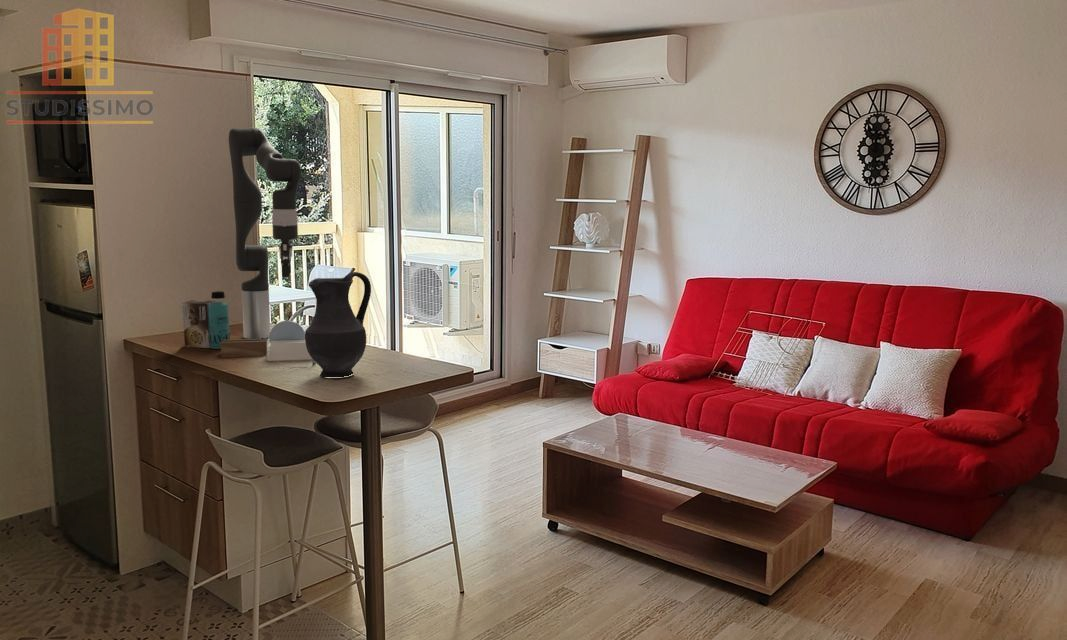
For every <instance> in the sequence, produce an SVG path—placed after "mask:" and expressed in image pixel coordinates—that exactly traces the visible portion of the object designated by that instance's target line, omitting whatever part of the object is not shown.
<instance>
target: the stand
mask: <svg viewBox="0 0 1067 640" xmlns="http://www.w3.org/2000/svg"><path fill="white" fill-rule="evenodd" d="M267 349H268V338H263V339H246V338H243V339H242V338H241V339H229V340H222V342H221V349H220V357H221V358H225V357H229V358H230V357H257V356H258V357H259V356H261V357H263V356H267Z"/></svg>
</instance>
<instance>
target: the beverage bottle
mask: <svg viewBox="0 0 1067 640" xmlns="http://www.w3.org/2000/svg"><path fill="white" fill-rule="evenodd" d="M225 298H226V295H225V292H224V291H222V290H221V291H219V290H217V291H212V292H211V298H210V299H214V300H213V301H214V302H211V303H210V304H209V305H208V307H209V339H210V343H209V344H210V345H209V346H210V348H209V349H217V350H218V349H219V350H221V342H222V340H230V337H231V335H230V319H229V318H230V317H229V304H228V303H227V302H226V301H225V300H223V301H222V300H219V299H225ZM215 299H217V300H215Z"/></svg>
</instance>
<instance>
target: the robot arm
mask: <svg viewBox="0 0 1067 640" xmlns="http://www.w3.org/2000/svg"><path fill="white" fill-rule="evenodd" d="M228 145H229V146H228V148H229V149H228V150H229V155H230V162H231V171H232V187H233V197H232V198H233V208H234V209H233V210H234V219H235V220H234V221H235V261H236V267H237V269H238V270H239V271H240V272H258V274H257V275H256V276H254V277H253V278H250V279H248V280H245V281H243V282H242V283H241V302H242V329H243V339H262V338H263V339H269V336H270V332H271V316H270V315H271V314H270V313H271V311H270V290H269V289H270V287H269V286H270V285H269V250H268V248H267V246H266V245H262V244H258V245H257V244H253V245H252V244H249V245H247V244H246V242H247V238H248V236H249V235H250V232H251V231H252V229H253V227H254V225H255V224H256V223H257V222H258V221H259V218H260V216H261V215H262V213H263V201H262V199H263V197H262V192H261V190H260V188H259V186H258V185H257V183H256V182H255V180H254V179H253V178H252V177H251V175H250V174H249V173H248V171H247V169H246V167H245V165H244V158H243V157H250V156H255V159H256V162H257V163H258V165H259V166H260V167H262V168H263V169H264V172H265V176H266V178H267V180H269V181H272V182H275V183H276V182H278V183H279V182H281V183H283V182H286V185H285V186H284V187H283V188H280V189H275V190H273V192H272V197H271V198H272V216H271V218H272V219H271V220H272V221H271V222H272V238H273V239H274V240H280V241H281V244H279V245H278V251H279V259H280V265H281V273H282V275H281V276H282V277H283V278H290V276H291V272H292V271H291V267H292V265H291V261H292V257H293V244H291V243H292V240H297V239H298V238H299V235H298V234H299V228H298V227H299V226H298V212H297V192H298V187H299V182H300V179H301V176H302V167H301V164H300V162H299V160H297V159H294V158H285V157H284V155H283V154H282V153H280V152H279V151H278V150H277V149H275V147H273V145H272V144H271V143H270V141H269V139H268V137H267V136H266V135H265V133H264V132H263V131H262V129H260V128H259V127H252V126H251V127H235V128H231V129H230V130H229V132H228Z"/></svg>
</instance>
